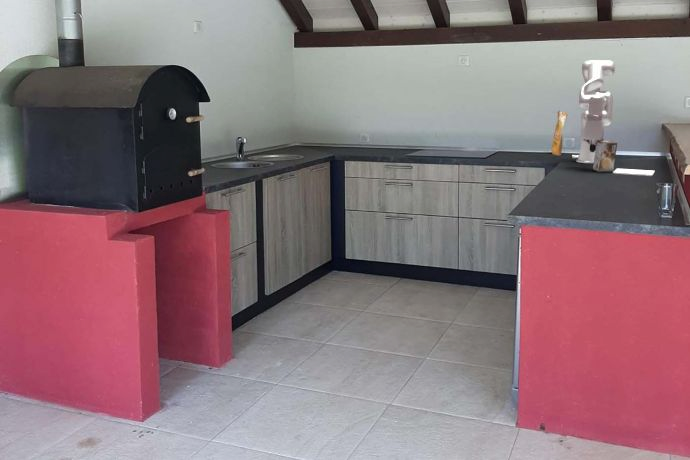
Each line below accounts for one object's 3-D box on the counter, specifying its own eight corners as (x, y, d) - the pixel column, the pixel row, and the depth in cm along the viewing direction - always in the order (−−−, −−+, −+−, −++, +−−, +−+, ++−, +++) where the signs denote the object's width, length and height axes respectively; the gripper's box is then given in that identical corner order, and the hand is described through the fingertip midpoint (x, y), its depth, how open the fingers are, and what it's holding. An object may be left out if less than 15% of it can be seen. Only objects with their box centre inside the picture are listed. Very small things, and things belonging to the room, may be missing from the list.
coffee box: (607, 168, 408) (611, 140, 403) (613, 171, 402) (618, 143, 397) (592, 168, 407) (596, 140, 401) (598, 171, 401) (602, 143, 395)
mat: (612, 173, 395) (613, 172, 395) (616, 170, 409) (617, 168, 409) (651, 176, 386) (651, 174, 386) (654, 172, 400) (654, 170, 400)
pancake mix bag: (560, 152, 493) (562, 110, 487) (565, 155, 474) (568, 112, 468) (549, 152, 493) (552, 110, 487) (554, 155, 475) (557, 112, 469)
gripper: (579, 118, 401) (577, 152, 405) (608, 119, 395) (605, 153, 398) (582, 117, 408) (579, 150, 412) (610, 118, 401) (607, 152, 405)
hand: (592, 151), depth 405 cm, fingers closed
